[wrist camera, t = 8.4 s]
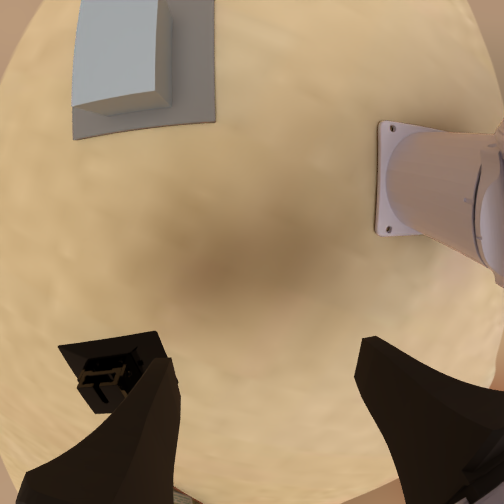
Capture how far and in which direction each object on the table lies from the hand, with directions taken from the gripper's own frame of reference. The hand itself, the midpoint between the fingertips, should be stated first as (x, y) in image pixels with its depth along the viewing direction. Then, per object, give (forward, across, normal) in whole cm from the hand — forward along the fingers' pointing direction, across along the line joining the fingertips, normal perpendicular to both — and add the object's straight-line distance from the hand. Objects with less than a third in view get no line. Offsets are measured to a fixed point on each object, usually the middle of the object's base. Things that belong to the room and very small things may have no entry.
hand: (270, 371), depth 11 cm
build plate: (+11, +11, +8) cm, 17 cm away
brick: (+9, +6, -14) cm, 18 cm away
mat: (+10, +6, -14) cm, 18 cm away
